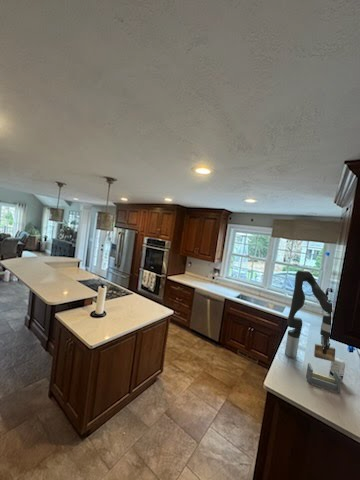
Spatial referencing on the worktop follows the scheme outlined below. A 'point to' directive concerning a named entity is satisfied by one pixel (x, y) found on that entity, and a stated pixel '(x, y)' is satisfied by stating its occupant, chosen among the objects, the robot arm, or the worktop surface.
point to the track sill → (324, 380)
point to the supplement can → (337, 368)
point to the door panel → (319, 354)
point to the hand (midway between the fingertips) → (323, 352)
